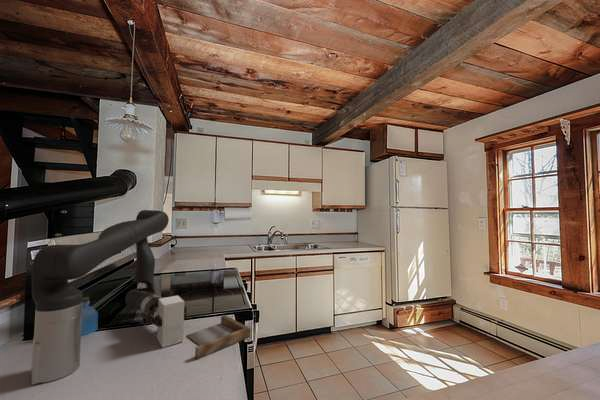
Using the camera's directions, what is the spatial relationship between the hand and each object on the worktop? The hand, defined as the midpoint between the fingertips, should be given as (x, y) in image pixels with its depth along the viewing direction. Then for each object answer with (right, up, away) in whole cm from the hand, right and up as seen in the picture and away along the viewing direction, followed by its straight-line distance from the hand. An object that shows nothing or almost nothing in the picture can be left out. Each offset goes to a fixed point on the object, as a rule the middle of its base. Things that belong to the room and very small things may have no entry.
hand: (173, 320), depth 84 cm
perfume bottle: (-35, -8, +6) cm, 36 cm away
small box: (-2, -7, +1) cm, 8 cm away
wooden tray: (+12, -7, +2) cm, 14 cm away
